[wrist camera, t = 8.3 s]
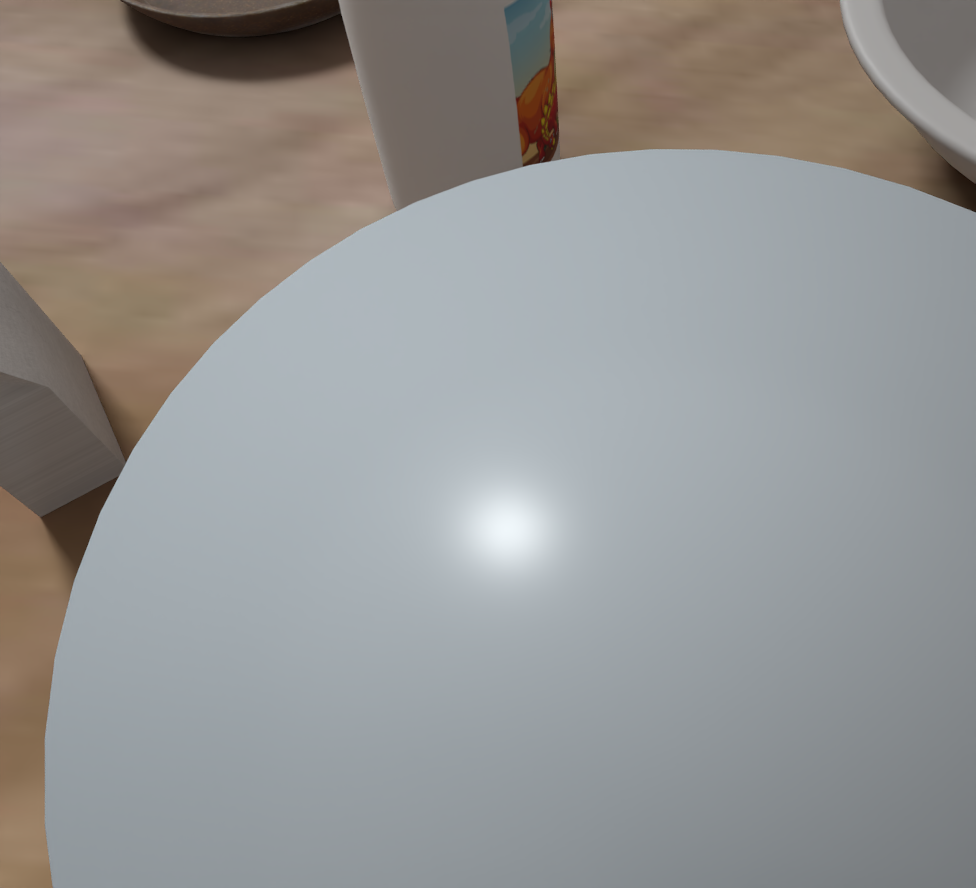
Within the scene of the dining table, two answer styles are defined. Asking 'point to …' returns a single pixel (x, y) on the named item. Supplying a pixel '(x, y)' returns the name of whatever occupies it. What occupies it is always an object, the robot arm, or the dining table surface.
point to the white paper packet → (47, 410)
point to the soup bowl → (923, 67)
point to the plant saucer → (238, 15)
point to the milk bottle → (455, 88)
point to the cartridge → (551, 554)
